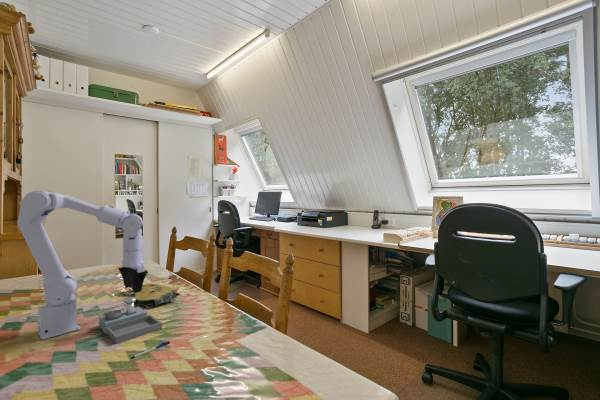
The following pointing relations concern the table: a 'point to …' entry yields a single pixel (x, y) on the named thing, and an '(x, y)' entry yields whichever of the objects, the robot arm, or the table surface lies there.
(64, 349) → the table surface
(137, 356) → the ballpoint pen
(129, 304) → the lock pin
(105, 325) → the block
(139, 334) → the tray
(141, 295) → the pulley block
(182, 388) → the table surface
